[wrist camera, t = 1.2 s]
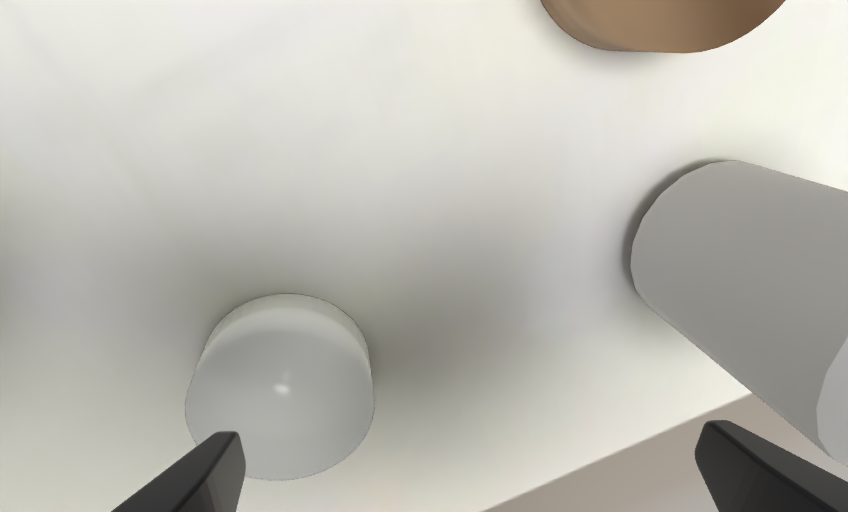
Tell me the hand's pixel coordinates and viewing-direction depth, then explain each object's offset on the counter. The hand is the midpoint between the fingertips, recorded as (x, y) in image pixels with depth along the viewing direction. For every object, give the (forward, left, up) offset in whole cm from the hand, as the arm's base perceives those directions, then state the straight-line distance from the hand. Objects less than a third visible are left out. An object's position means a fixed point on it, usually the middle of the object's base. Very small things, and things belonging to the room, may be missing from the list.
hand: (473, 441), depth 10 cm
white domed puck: (-7, -3, -12) cm, 14 cm away
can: (+12, -6, -12) cm, 18 cm away
